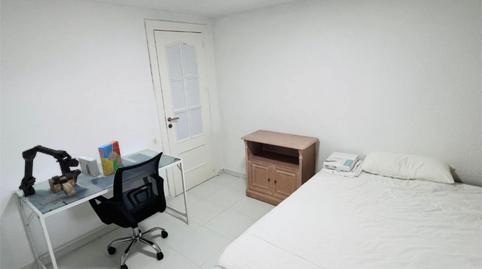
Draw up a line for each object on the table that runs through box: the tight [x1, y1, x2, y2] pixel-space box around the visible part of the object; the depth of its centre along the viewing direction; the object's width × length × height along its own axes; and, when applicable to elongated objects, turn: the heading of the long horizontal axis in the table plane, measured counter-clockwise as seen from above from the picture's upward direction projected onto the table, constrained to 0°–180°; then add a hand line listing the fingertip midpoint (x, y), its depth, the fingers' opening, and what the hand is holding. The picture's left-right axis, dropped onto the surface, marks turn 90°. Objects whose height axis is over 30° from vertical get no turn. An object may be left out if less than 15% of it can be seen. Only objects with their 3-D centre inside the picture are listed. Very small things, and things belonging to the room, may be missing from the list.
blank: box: [62, 182, 76, 196], centre depth 199 cm, size 4×14×6 cm, turn 49°
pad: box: [39, 192, 68, 206], centre depth 189 cm, size 16×7×1 cm, turn 141°
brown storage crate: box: [47, 174, 77, 194], centre depth 206 cm, size 16×9×9 cm, turn 141°
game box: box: [97, 140, 124, 176], centre depth 233 cm, size 21×6×27 cm, turn 168°
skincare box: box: [77, 155, 101, 177], centre depth 230 cm, size 21×5×16 cm, turn 62°
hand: (69, 185), depth 194 cm, fingers open, 9 cm apart
